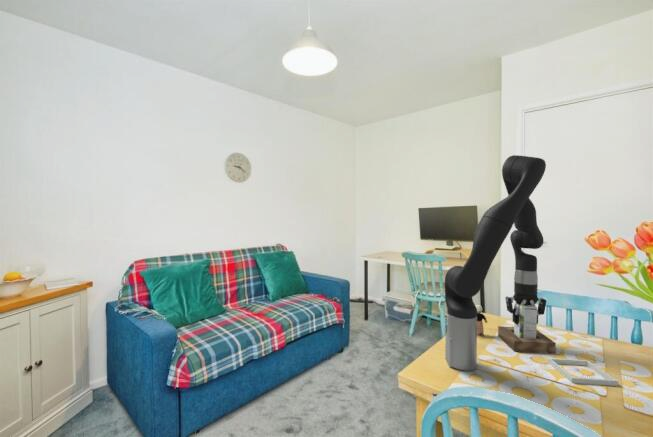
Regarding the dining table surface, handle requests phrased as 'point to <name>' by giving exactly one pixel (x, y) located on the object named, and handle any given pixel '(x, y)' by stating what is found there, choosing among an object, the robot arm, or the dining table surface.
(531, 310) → the syrup box
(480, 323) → the grandmother figurine
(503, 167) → the robot arm
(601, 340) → the dining table surface
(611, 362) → the dining table surface
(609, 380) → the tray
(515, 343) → the socket block
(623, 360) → the dining table surface
